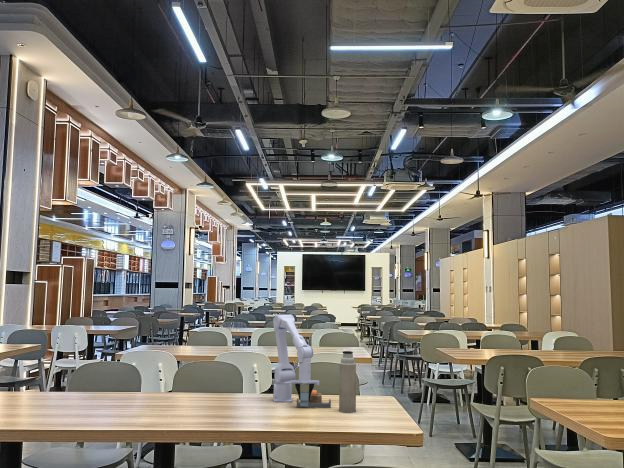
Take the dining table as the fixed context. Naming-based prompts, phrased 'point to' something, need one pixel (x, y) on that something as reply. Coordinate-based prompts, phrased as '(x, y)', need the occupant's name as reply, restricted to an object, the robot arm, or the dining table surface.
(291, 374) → the robot arm
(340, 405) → the thermos bottle
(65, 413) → the dining table surface
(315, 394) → the gauge button
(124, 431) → the dining table surface
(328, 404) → the rail
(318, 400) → the square wooden frame
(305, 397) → the block
